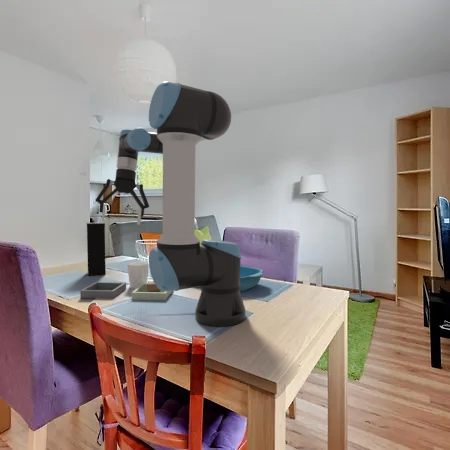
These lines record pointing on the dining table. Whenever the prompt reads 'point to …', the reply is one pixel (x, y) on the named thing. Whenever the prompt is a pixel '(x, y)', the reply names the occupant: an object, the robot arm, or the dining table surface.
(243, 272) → the casserole dish
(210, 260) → the robot arm
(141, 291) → the sage tray
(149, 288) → the letter cube
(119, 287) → the charcoal tray
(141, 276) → the white cup
